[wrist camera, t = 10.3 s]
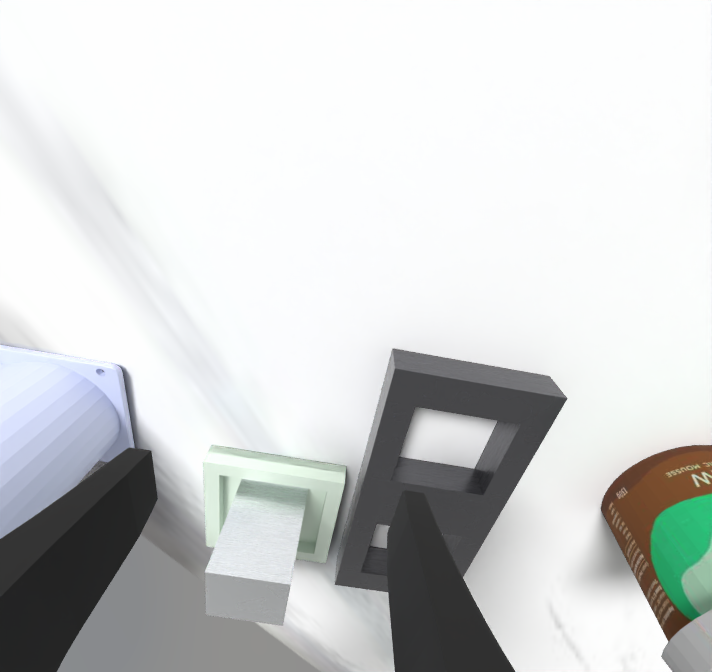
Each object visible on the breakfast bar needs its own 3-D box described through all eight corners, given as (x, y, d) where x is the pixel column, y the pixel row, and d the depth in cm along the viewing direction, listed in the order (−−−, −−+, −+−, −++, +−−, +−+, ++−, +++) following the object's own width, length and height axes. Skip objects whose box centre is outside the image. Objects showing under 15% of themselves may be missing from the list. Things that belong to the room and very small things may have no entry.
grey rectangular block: (240, 518, 25) (205, 615, 20) (242, 477, 23) (204, 572, 18) (300, 528, 26) (282, 625, 20) (308, 487, 24) (290, 584, 18)
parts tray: (213, 528, 27) (206, 546, 26) (212, 444, 23) (202, 461, 22) (327, 545, 28) (325, 563, 26) (346, 466, 23) (344, 483, 22)
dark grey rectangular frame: (337, 557, 28) (334, 584, 27) (392, 348, 19) (394, 368, 17) (444, 573, 29) (449, 600, 27) (549, 376, 19) (567, 398, 18)
